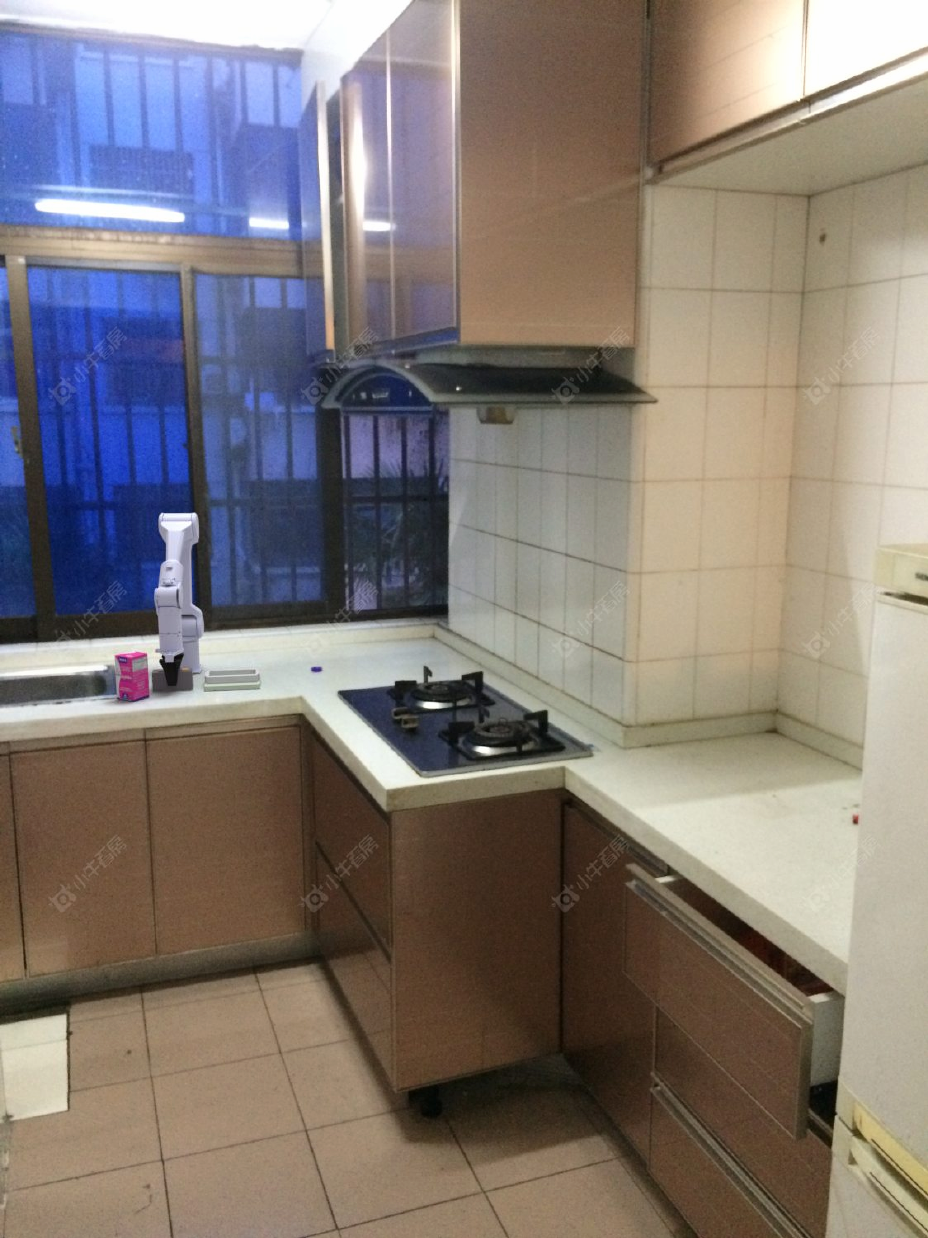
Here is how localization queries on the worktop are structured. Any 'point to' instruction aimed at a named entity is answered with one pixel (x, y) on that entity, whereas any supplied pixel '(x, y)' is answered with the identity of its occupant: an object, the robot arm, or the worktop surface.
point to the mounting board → (232, 679)
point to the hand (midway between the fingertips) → (173, 683)
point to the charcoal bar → (182, 684)
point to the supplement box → (132, 676)
